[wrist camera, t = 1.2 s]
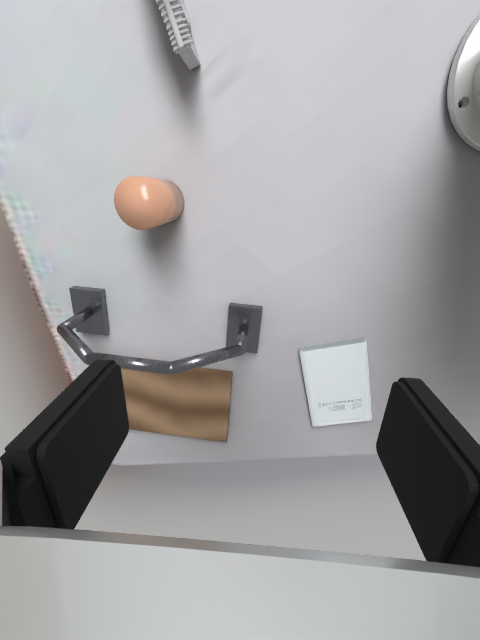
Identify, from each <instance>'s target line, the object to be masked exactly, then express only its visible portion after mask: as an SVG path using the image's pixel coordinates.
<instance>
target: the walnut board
mask: <svg viewBox="0 0 480 640" xmlns="http://www.w3.org/2000/svg"><path fill="white" fill-rule="evenodd" d="M121 373H122V380H123V386H124V393H125V400H126V407H127V414H128V421H129V429H132V430H139V431H147V432H154V433H162V434H169V435H177V436H184V437H191V438H199V439H206V440H214V441H221V442H226V441H227V433H228V421H229V409H230V397H231V385H232V373H233V372H231V371H223V370H215V369H206V368H194V369H191V370H187V371H184V372H180V373H177V374H173V375H168V374H160V373H152V372H144V371H135V370H127V369H121Z"/></svg>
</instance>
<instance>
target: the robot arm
mask: <svg viewBox="0 0 480 640" xmlns="http://www.w3.org/2000/svg"><path fill="white" fill-rule="evenodd" d="M458 102H459V103H460V108H459V106H458ZM447 103H448V110H449V115H450V119H451V122H452V124H453V126H454V128H455V130H456V132H457V133H458V135H459V136H460V137H461V138H462V139H463V141H464V142H465V143H467V144H468V145H470V146H471V147H473V148H474V149H476V150H479V151H480V15H479V16H478V17H477V18H476V19H475V21H474V22H473V23H472V25H471V27H470V28H469V30H468V31H467V33H466V35H465V36H464V38H463V39H462V42H461V44H460V46H459V48H458V50H457V53H456V55H455V57H454V60H453V64H452V67H451V70H450V74H449V80H448V88H447ZM128 431H129V421H128V414H127V407H126V400H125V393H124V386H123V380H122V373H121V367H120V365H118V364H116V362H115V361H114V360H103V359H96V360H95V361H94V362H93V363H92V364H91V365H90V366H88V367H87V368H86V369H85V370H84V371H83V372H82V373H81V374H80V375H79V376H78V377H77V378H76V379H75V380H74V381H73V382H72V383H71V384H70V385H69V386H68V387H67V388H66V389H65V390H64V391H63V392H62V393H61V394H60V395H59V396H58V397H57V398H56V399H55V400H54V401H53V402H52V403H50V405H48V406H47V407H46V408H45V409H44V410H43V411H42V412H41V413H40V414H39V415H38V416H37V417H36V418H35V419H34V420H33V421H32V422H31V423H30V424H29V425H28V426H27V427H26V428H25V429H24V430H23V431H22V432H21V433H20V434H19V435H18V436H17V437H16V438H15V439H14V440H13V441H12V442H10V443H9V444H8V445H7V446H6V448H5V451H6V452H5V453H4V454H3V455H2V456H1V457H0V640H480V445H479V444H478V443H477V442H476V441H475V440H474V439H473V437H472V436H471V435H470V434H469V433H468V432H467V431H466V430H465V428H464V427H463V426H462V425H461V424H460V423H459V422H458V421H457V419H456V418H455V417H454V416H453V415H452V414H451V413H450V411H449V410H448V409H447V408H446V407H445V406H444V405H443V404H442V402H441V401H440V400H439V399H438V398H437V397H436V396H435V395H434V393H433V392H432V391H431V390H430V389H429V388H428V387H427V386H426V384H425V383H424V382H423V381H422V380H421V379H416V378H400V379H399V380H398V382H394V383H393V385H392V388H391V391H390V395H389V399H388V402H387V406H386V410H385V413H384V417H383V421H382V424H381V428H380V432H379V435H378V439H377V443H376V449H377V453H378V455H379V458H380V460H381V462H382V465H383V467H384V469H385V471H386V473H387V475H388V477H389V480H390V482H391V484H392V486H393V489H394V491H395V493H396V495H397V497H398V500H399V502H400V504H401V506H402V508H403V511H404V513H405V515H406V517H407V519H408V521H409V523H410V526H411V528H412V530H413V532H414V534H415V537H416V539H417V541H418V543H419V545H420V548H421V550H422V552H423V554H424V557H425V558H426V560H427V561H420V560H411V559H400V558H390V557H380V556H369V555H359V554H349V553H338V552H328V551H318V550H307V549H295V548H285V547H274V546H263V545H252V544H241V543H230V542H219V541H208V540H197V539H186V538H174V537H162V536H149V535H138V534H126V533H114V532H103V531H91V530H75V529H74V528H75V527H76V525H77V523H78V521H79V520H80V518H81V516H82V514H83V513H84V511H85V509H86V507H87V505H88V504H89V502H90V500H91V498H92V497H93V495H94V493H95V491H96V490H97V488H98V486H99V484H100V483H101V481H102V479H103V477H104V475H105V474H106V472H107V470H108V468H109V467H110V465H111V463H112V461H113V459H114V458H115V456H116V454H117V452H118V451H119V449H120V447H121V445H122V444H123V442H124V440H125V438H126V436H127V434H128Z"/></svg>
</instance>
